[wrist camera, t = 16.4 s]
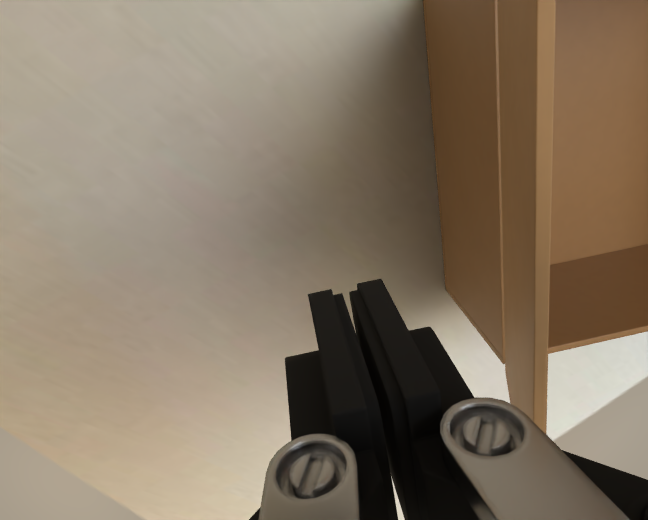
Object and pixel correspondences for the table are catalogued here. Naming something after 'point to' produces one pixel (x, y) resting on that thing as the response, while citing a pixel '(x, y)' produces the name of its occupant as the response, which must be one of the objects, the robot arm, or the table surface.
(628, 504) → the robot arm
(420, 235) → the table surface
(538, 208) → the carton flap
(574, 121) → the carton
